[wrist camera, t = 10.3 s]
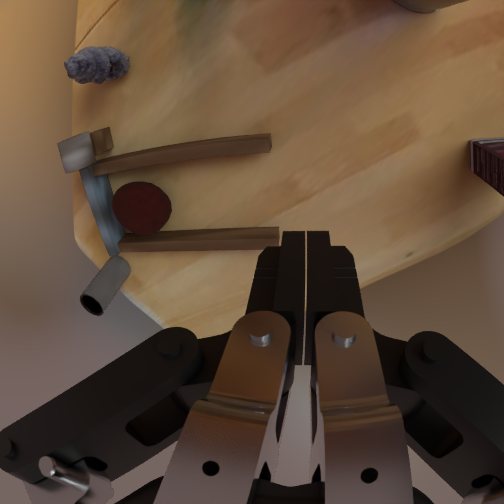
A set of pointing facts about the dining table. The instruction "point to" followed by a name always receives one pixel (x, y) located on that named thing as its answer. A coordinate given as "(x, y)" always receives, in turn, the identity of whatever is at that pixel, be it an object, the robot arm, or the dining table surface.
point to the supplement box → (489, 161)
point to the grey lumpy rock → (97, 65)
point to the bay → (95, 171)
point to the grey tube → (105, 285)
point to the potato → (141, 207)
